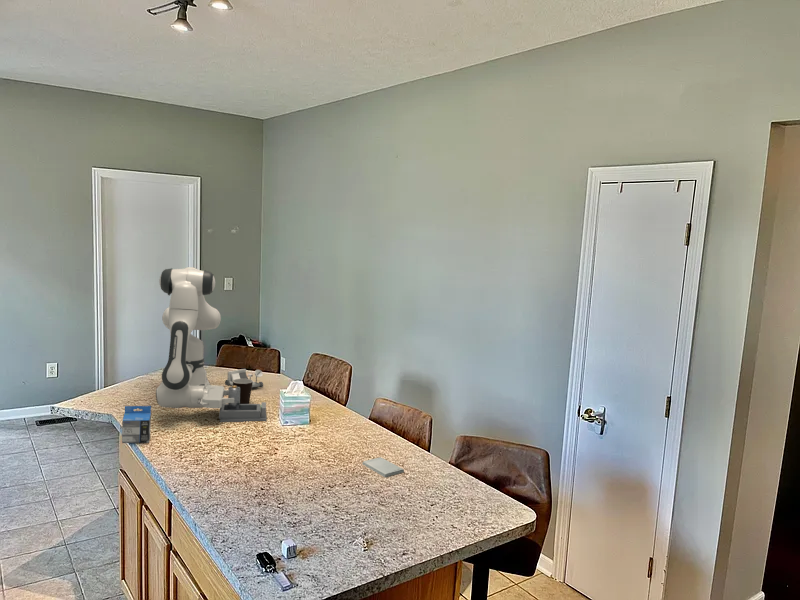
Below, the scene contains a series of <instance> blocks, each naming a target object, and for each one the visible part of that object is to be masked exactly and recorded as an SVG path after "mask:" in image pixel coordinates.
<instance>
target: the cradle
mask: <svg viewBox="0 0 800 600" xmlns="http://www.w3.org/2000/svg"><path fill="white" fill-rule="evenodd" d="M218 410H219V412H218V419H219V422H220V423H239V422H240V423H243V422H244V421H245V423H249V421H266V422H267V402H265V401H263V402H262V401H261V403H249V404H240V410H228V404H222V407H221V408H219V409H218ZM246 421H248V422H246Z"/></svg>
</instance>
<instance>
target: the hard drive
mask: <svg viewBox="0 0 800 600" xmlns="http://www.w3.org/2000/svg"><path fill="white" fill-rule="evenodd" d="M361 465H363V466H364V465H365V467H366V468H368V469H370V470H372V471H373V472H375V473H377V474H378V475H380V476H382V477H383V478H387V477H391V475H392V476H395V475H400V474H402V473H404V472H405V469H403V468H402V467H400V466H398V465H396V464H394V463H393V462H391V461H389V460H387V459H385V458H383V457H381V456H380V457H377V458H376V457H375V458H371V459H368V460H363V462H362V464H361Z"/></svg>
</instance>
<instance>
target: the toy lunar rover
mask: <svg viewBox="0 0 800 600" xmlns="http://www.w3.org/2000/svg"><path fill="white" fill-rule="evenodd" d="M263 375H264V374H263V371H262V370H261V369H256V370H255V371H254V375H253V373H248V374H247V369H246V368H241V369H237V370H230V371H227V379H225V380H224V384H225V385H226V386H230V385H231V386H233V380H235V379H250V380H252V377H253V376H255V381H253V383H252V388H256V387H259V388H263V387H264V382H263V381H259V382H257V381H258V379H257V378H261V377H263ZM248 377H249V378H248Z"/></svg>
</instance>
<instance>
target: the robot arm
mask: <svg viewBox="0 0 800 600" xmlns="http://www.w3.org/2000/svg"><path fill="white" fill-rule="evenodd" d="M158 280H159V281H158V282H159V287H160V290H161V291H162V292H163V293H165V294H167V296H168V297H169V296H170V299H169V306H168V307H166V308H165V310H164V311H163V312H162V323H163V325H164V326H165V328H167V329H169V334H170V341H169V350H168V351H169V353H168V359H167V364H166V365H165V366H164V368H163V370H162V372H161V382H160V384H159V385H158V386H157V387H156V389H155V398H156V403H157V405H158V406H159V407H161V408H168V409H169V408H170V409H181V408H187V409H203V408H205V409H220V408H221V407H222V404H228V403H234V400H235V398H228V389H225V386H222V385H217V384H216V385H215V384H213V385H212V384H211V383H210V382H209V379H208V377H207V372H208V371H207V370H206V369H205V367H204V366H205V360H204V359H205V358H204V342H203V340H201V339H200V338H198V337H197V336H195V335H193V334H192V332H193V331H209V330H215V329H217V328H218V327H219V326H220V323H221V320H222V315H221V313H220V311H219V310H218V309H217V308H215V307H214V306H212V305H210V304H209V303H208V302H207V301H206V299H205V296H207V295H211V294H212V293H213V292H214V290H215V287H216V279H215V275H214V274H213V272H211V271H209V270H206V269H205V270H200V269H198V268H195V267H192V266H188V267H183V268H172V267H171V268H165V269H163V270H162V272H161V274H160V276H159V279H158ZM224 396H225V397H224Z"/></svg>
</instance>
